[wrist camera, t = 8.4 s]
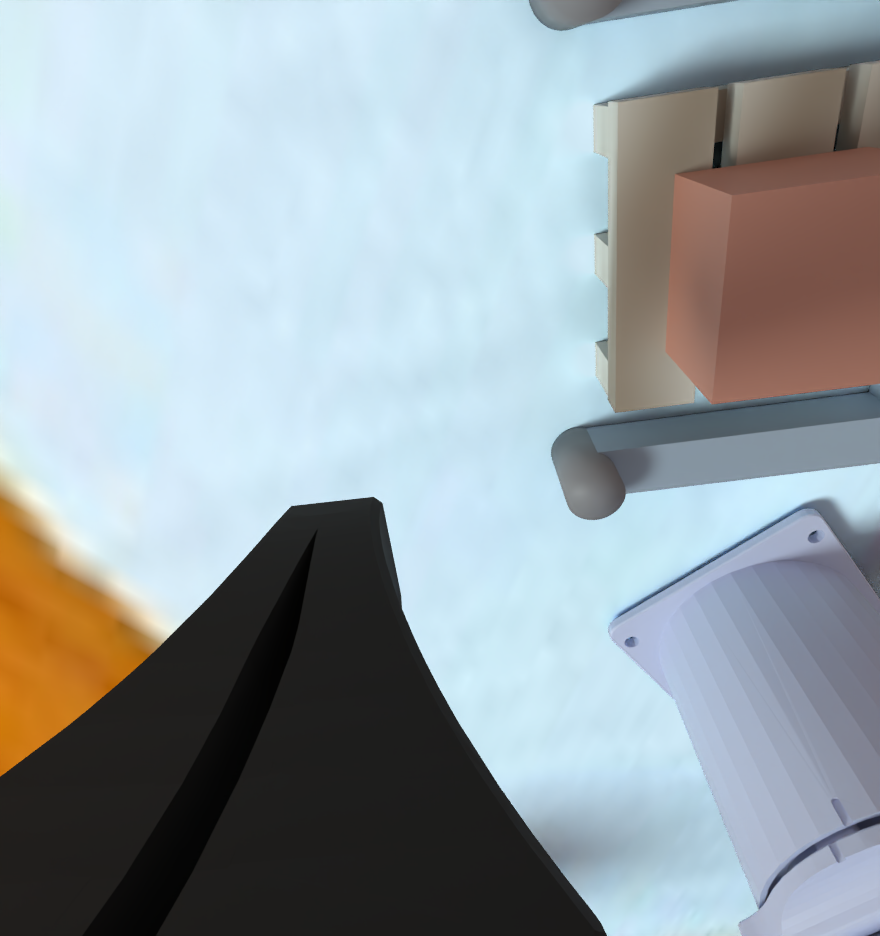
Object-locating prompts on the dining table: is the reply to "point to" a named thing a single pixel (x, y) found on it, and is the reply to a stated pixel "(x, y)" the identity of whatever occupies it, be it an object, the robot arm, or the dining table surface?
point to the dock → (705, 434)
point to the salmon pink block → (777, 276)
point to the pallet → (686, 150)
